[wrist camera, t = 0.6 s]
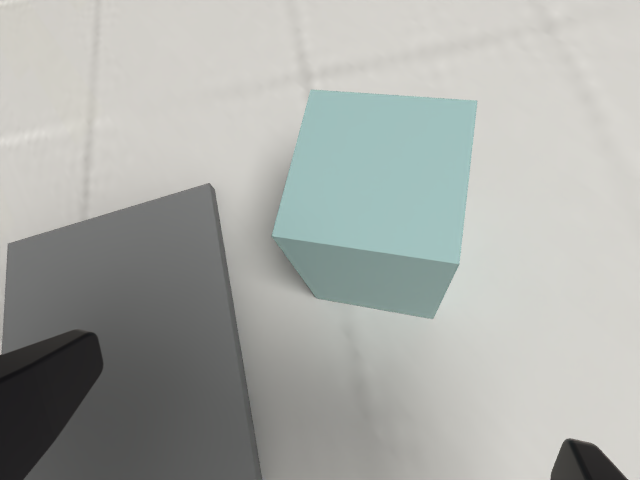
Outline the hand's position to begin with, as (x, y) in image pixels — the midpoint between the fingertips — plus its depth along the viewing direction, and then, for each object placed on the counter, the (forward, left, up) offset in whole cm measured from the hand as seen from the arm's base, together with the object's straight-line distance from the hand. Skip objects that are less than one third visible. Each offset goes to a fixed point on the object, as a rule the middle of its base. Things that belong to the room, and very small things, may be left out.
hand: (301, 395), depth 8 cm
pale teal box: (+6, -4, -13) cm, 15 cm away
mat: (+7, +11, -13) cm, 19 cm away
